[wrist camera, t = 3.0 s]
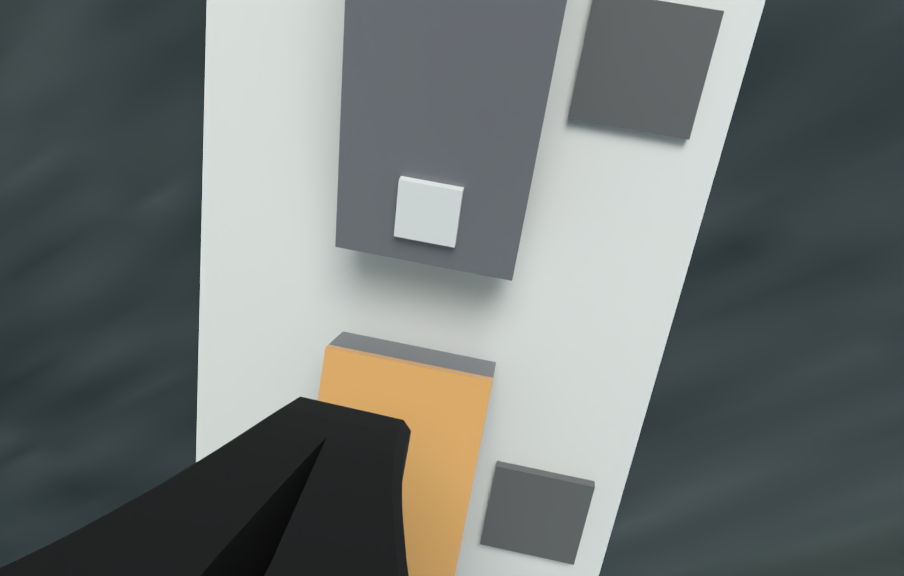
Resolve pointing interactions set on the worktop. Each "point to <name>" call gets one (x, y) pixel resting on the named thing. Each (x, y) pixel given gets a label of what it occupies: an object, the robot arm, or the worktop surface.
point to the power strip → (462, 293)
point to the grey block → (442, 127)
